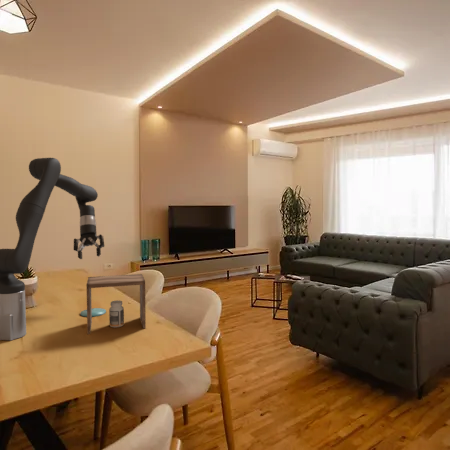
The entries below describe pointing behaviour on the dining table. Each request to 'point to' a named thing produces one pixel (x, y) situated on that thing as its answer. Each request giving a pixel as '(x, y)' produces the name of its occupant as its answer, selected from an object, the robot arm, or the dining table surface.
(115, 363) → the dining table surface
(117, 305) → the pill bottle
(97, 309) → the mat
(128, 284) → the cubby
